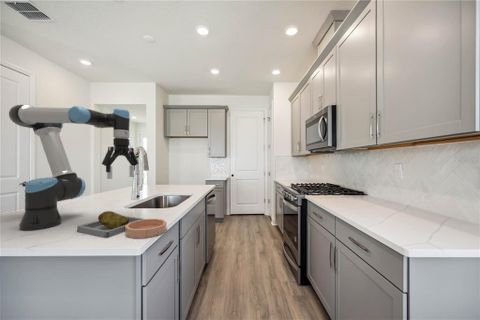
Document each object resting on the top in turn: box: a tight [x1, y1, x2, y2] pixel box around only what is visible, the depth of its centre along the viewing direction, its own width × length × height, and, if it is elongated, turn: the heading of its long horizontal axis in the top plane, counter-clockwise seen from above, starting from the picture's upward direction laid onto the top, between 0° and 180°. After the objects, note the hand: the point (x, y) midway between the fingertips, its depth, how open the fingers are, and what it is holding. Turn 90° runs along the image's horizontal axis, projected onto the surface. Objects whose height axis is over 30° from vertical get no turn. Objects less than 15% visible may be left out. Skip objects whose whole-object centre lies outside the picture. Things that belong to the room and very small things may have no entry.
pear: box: [97, 210, 130, 229], centre depth 103 cm, size 8×13×8 cm, turn 86°
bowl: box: [124, 218, 167, 239], centre depth 98 cm, size 17×17×4 cm
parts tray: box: [76, 215, 144, 239], centre depth 103 cm, size 19×21×2 cm
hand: (121, 177), depth 113 cm, fingers open, 13 cm apart
